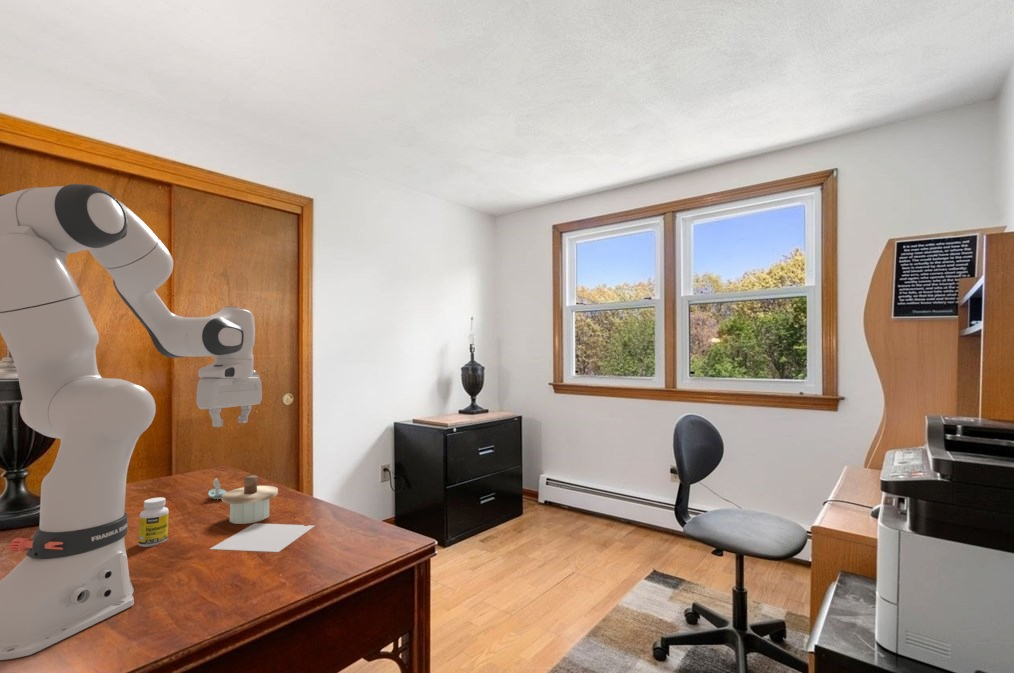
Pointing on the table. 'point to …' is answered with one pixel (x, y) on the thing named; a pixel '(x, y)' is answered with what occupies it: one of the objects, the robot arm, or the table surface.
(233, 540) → the mat
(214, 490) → the pacifier
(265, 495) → the lid
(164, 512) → the supplement bottle
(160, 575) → the table surface
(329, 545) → the table surface
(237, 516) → the bowl
